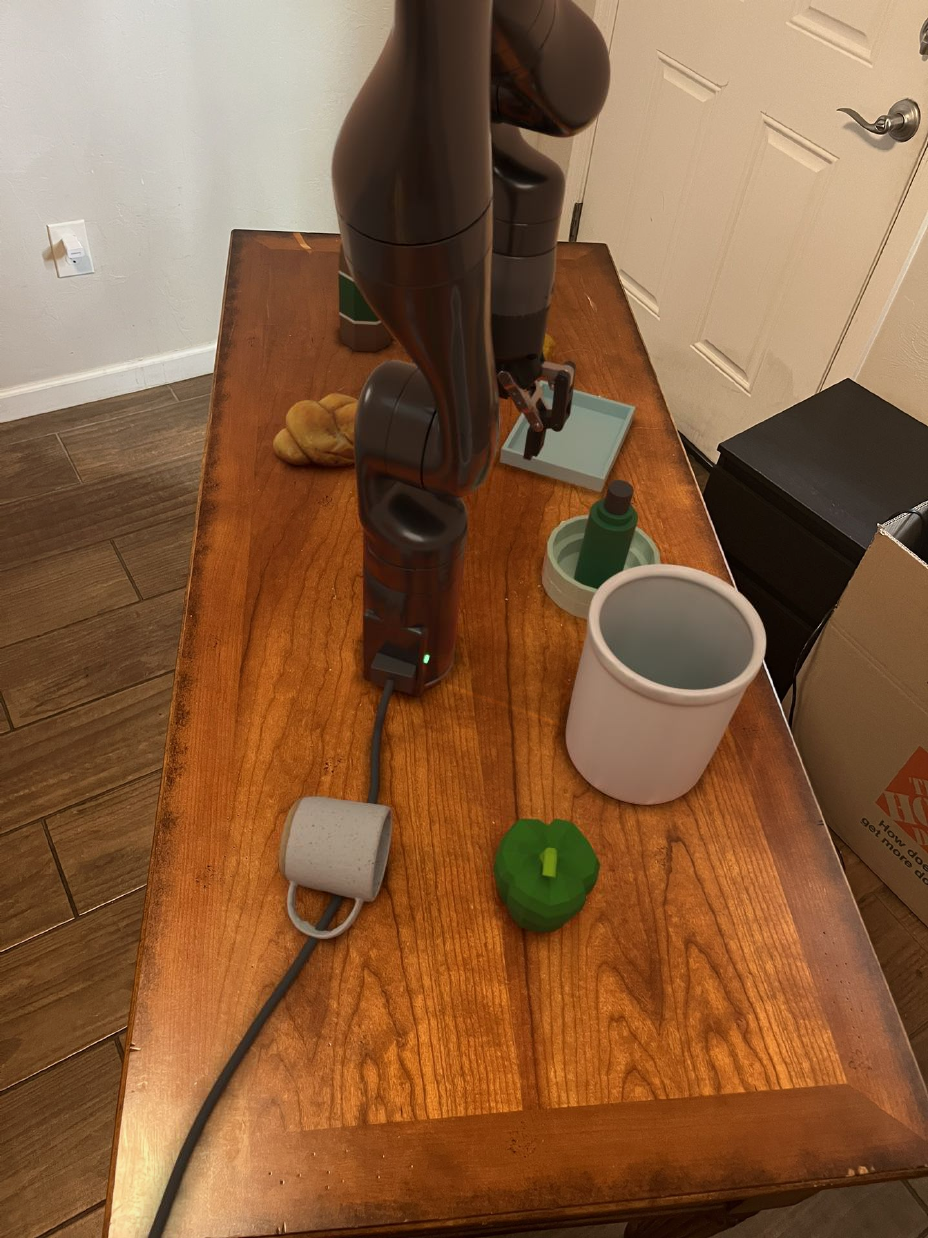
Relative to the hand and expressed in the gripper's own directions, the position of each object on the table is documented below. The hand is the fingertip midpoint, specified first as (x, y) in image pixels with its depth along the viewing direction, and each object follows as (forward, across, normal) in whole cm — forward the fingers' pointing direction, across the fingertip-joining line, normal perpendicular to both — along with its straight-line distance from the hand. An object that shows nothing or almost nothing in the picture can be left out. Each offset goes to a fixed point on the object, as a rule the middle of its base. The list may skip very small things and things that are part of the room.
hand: (488, 442), depth 91 cm
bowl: (+18, +13, +4) cm, 23 cm away
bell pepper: (+18, +19, -34) cm, 43 cm away
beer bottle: (+18, -30, +37) cm, 51 cm away
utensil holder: (+18, +22, -15) cm, 32 cm away
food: (+18, -14, +41) cm, 47 cm away
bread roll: (+18, -24, +12) cm, 32 cm away
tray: (+18, +3, +27) cm, 33 cm away
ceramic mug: (+18, +3, -39) cm, 43 cm away
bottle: (+18, +13, +4) cm, 22 cm away
